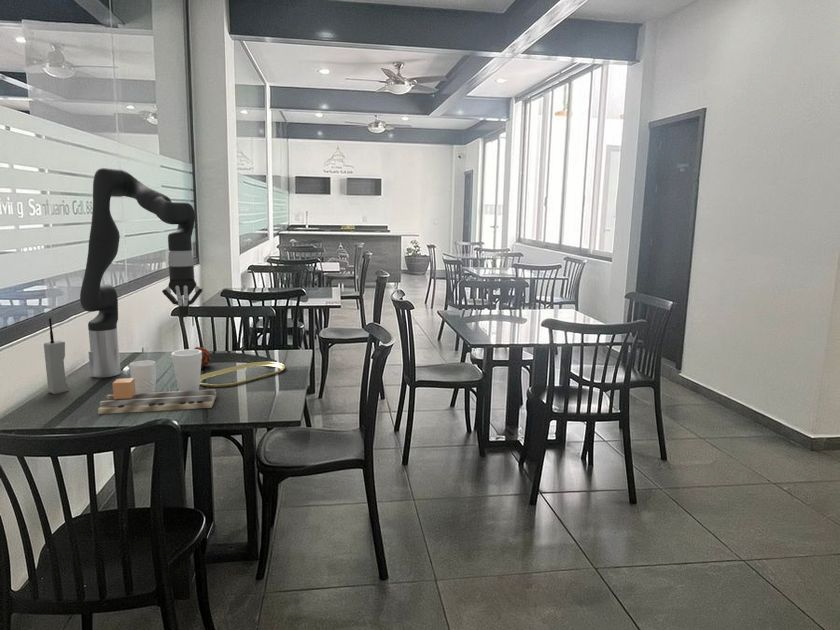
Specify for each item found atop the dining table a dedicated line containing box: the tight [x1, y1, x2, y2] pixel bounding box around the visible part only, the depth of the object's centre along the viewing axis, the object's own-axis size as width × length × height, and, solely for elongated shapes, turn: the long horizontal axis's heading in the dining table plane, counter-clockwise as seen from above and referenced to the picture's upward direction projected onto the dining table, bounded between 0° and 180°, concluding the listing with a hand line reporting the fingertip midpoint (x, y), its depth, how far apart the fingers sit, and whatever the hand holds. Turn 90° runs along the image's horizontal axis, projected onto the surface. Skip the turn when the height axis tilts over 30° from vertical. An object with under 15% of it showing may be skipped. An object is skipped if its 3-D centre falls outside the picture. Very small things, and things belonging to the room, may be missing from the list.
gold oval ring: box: [199, 361, 286, 388], centre depth 221 cm, size 19×35×2 cm, turn 145°
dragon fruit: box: [194, 346, 212, 369], centre depth 232 cm, size 8×8×12 cm
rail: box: [97, 388, 217, 415], centre depth 186 cm, size 32×12×3 cm, turn 101°
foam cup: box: [171, 348, 202, 391], centre depth 201 cm, size 10×9×13 cm
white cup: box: [128, 359, 157, 393], centre depth 199 cm, size 8×8×10 cm
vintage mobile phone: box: [43, 317, 70, 395], centre depth 198 cm, size 4×5×25 cm
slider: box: [112, 377, 136, 400], centre depth 184 cm, size 5×5×7 cm
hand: (184, 316), depth 198 cm, fingers closed
